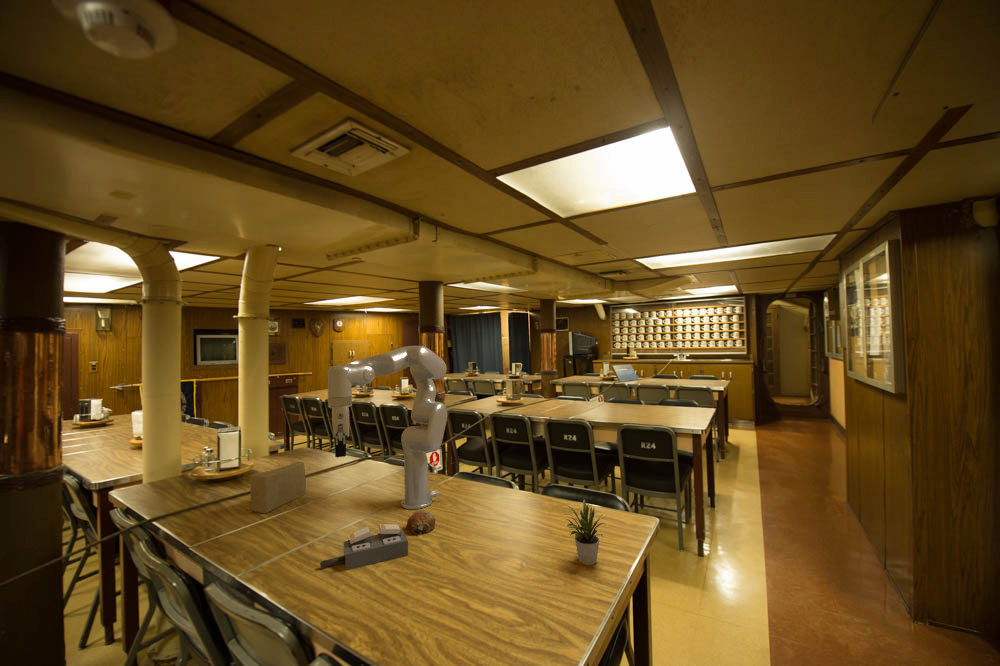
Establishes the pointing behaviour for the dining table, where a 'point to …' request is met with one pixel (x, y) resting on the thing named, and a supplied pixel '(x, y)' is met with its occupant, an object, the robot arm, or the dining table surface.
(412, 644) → the dining table surface
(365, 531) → the block
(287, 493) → the beige slab
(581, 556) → the house plant
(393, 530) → the rocker
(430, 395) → the robot arm
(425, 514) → the brown round lump
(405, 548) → the power strip
